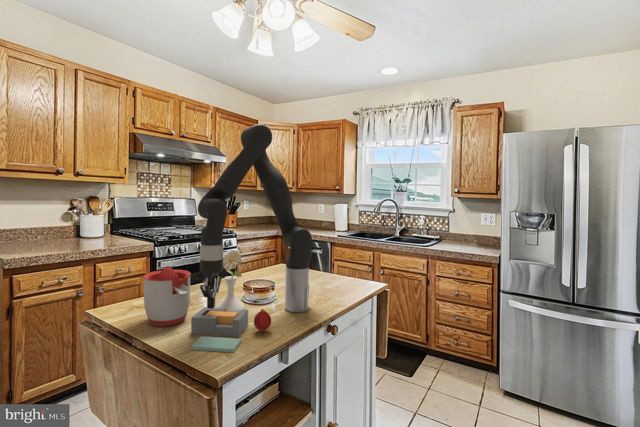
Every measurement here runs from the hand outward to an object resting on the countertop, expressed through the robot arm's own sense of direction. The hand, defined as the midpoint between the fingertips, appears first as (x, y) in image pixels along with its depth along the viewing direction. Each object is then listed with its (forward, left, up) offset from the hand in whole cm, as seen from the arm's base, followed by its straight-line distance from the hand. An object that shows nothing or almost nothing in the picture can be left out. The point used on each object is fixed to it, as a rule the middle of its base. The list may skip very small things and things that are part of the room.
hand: (211, 307), depth 116 cm
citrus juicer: (+17, -4, -8) cm, 19 cm away
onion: (-18, 0, -8) cm, 19 cm away
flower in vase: (-2, -15, -8) cm, 17 cm away
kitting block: (-4, 0, -7) cm, 8 cm away
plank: (-4, 0, -4) cm, 6 cm away
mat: (-7, +12, -7) cm, 16 cm away
